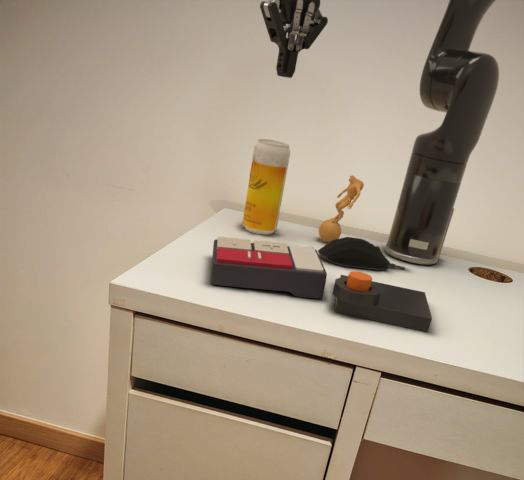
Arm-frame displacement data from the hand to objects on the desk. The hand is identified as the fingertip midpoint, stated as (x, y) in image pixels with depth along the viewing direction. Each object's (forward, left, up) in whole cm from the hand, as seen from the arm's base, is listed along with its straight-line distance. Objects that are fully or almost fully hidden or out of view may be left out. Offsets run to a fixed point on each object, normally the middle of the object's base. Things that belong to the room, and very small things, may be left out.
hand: (284, 76), depth 92 cm
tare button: (+12, +32, -22) cm, 40 cm away
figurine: (-10, +9, -25) cm, 29 cm away
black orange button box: (+7, +33, -25) cm, 42 cm away
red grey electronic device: (+16, +19, -25) cm, 35 cm away
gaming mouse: (-6, +19, -25) cm, 32 cm away
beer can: (0, 0, -25) cm, 25 cm away
